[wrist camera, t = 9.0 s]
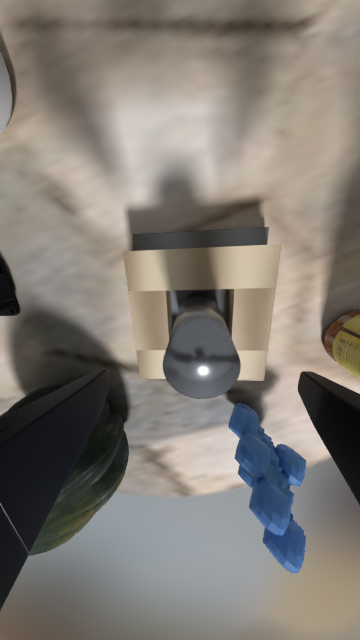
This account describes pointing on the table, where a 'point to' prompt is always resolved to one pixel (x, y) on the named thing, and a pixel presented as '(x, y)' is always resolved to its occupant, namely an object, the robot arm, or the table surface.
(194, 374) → the peg
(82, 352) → the table surface
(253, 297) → the socket
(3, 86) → the can
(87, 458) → the squash
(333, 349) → the sauce bottle
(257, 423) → the grapes
